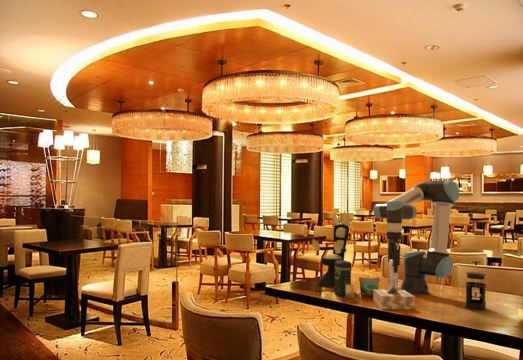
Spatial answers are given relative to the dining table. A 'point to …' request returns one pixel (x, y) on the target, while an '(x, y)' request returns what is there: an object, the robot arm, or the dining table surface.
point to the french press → (471, 302)
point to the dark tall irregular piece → (334, 249)
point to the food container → (368, 286)
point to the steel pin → (392, 282)
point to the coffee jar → (342, 276)
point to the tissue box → (393, 299)
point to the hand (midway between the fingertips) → (393, 278)
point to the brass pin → (349, 291)
